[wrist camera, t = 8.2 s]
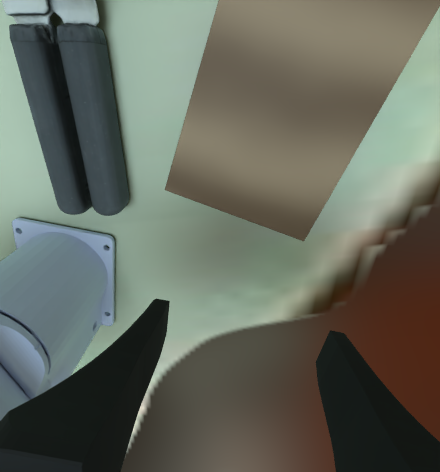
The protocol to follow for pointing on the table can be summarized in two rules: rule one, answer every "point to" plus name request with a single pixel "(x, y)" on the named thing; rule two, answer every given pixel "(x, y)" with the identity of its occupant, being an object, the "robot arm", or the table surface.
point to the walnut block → (289, 102)
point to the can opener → (71, 101)
